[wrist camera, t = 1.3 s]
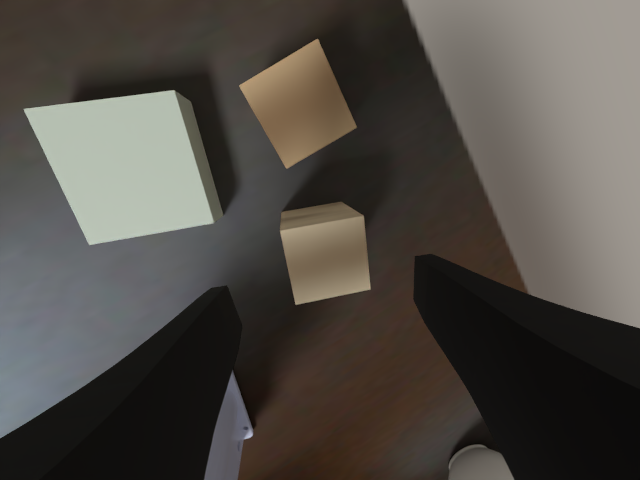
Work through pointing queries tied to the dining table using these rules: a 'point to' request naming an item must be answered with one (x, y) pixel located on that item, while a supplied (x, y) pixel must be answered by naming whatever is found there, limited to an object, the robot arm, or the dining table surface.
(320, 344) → the dining table surface
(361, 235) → the maple block
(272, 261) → the dining table surface
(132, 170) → the plinth block
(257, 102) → the oak block
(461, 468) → the lidded jar
